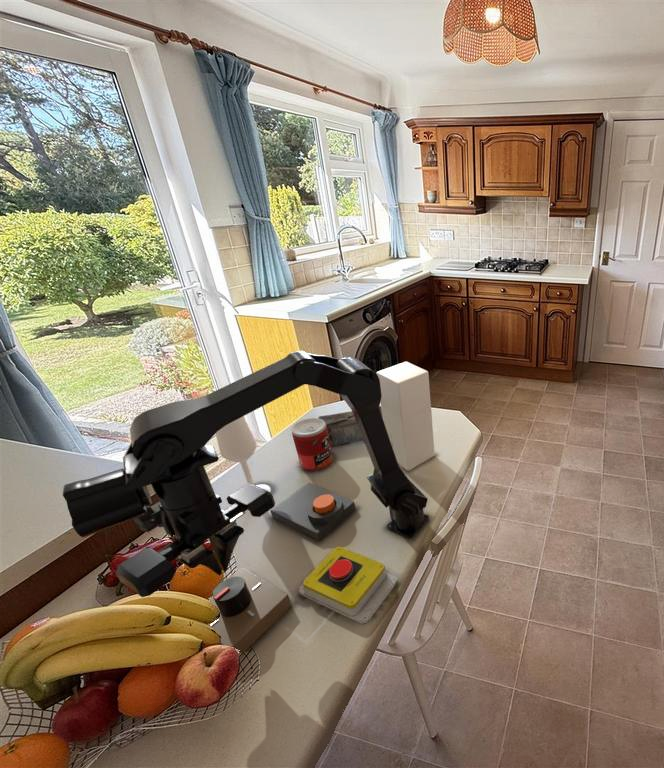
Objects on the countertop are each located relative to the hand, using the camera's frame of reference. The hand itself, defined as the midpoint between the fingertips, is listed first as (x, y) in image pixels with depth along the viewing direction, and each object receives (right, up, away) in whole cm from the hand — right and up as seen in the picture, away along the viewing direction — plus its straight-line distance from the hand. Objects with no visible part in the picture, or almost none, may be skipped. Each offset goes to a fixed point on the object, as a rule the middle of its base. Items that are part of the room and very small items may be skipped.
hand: (221, 571), depth 63 cm
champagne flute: (-14, +4, +31) cm, 34 cm away
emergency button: (+16, -8, +10) cm, 20 cm away
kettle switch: (+6, +3, +23) cm, 24 cm away
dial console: (0, -10, +5) cm, 11 cm away
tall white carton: (+19, +10, +45) cm, 49 cm away
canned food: (-5, +9, +42) cm, 43 cm away
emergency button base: (+2, +1, +26) cm, 26 cm away
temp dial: (0, -7, +4) cm, 8 cm away
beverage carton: (+1, +15, +53) cm, 55 cm away
